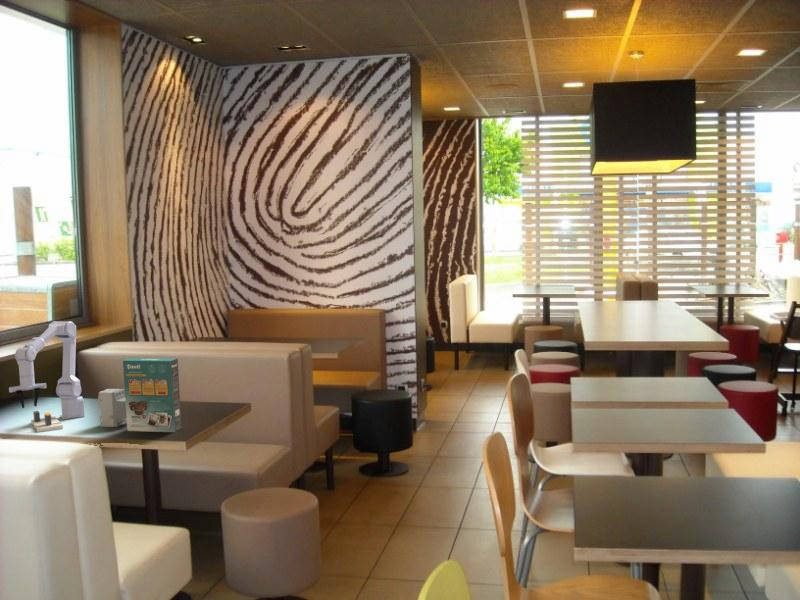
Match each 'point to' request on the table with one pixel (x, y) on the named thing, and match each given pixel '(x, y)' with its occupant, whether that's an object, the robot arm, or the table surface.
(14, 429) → the table surface
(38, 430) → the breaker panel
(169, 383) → the cake mix box
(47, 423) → the breaker handle
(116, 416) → the circuit breaker
